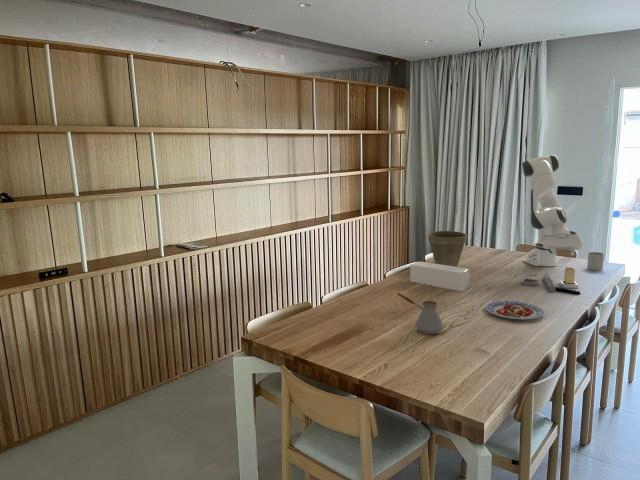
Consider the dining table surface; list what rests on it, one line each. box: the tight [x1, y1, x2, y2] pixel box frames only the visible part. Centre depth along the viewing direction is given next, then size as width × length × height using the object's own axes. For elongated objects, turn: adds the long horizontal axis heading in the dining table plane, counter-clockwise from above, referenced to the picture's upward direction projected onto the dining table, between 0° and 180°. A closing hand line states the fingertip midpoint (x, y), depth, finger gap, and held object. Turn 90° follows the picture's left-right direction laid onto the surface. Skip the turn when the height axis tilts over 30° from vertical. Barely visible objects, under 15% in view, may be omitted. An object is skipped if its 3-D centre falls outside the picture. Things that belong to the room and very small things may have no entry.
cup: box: [586, 251, 605, 272], centre depth 296 cm, size 8×8×10 cm
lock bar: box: [563, 266, 576, 284], centre depth 261 cm, size 4×4×10 cm
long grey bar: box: [542, 273, 556, 293], centre depth 265 cm, size 26×3×3 cm, turn 161°
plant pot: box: [428, 230, 468, 267], centre depth 314 cm, size 25×25×22 cm
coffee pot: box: [396, 292, 444, 336], centre depth 204 cm, size 21×12×15 cm, turn 55°
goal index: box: [520, 277, 539, 287], centre depth 268 cm, size 8×8×2 cm
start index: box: [559, 280, 579, 289], centre depth 262 cm, size 8×8×2 cm
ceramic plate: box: [485, 300, 545, 320], centre depth 222 cm, size 26×26×3 cm
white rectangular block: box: [409, 261, 471, 292], centre depth 272 cm, size 32×11×11 cm, turn 50°
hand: (563, 254), depth 271 cm, fingers open, 8 cm apart
